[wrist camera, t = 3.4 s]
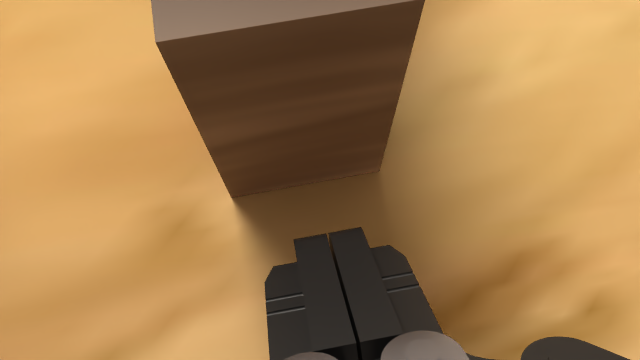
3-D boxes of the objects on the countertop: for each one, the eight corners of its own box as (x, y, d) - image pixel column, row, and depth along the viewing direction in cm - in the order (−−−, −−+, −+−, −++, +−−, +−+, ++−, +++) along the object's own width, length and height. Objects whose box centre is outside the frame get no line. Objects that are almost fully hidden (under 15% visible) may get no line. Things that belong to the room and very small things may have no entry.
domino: (379, 171, 19) (425, -2, 10) (231, 197, 19) (155, 42, 10) (367, 123, 20) (402, -77, 11) (224, 148, 19) (146, -38, 11)
